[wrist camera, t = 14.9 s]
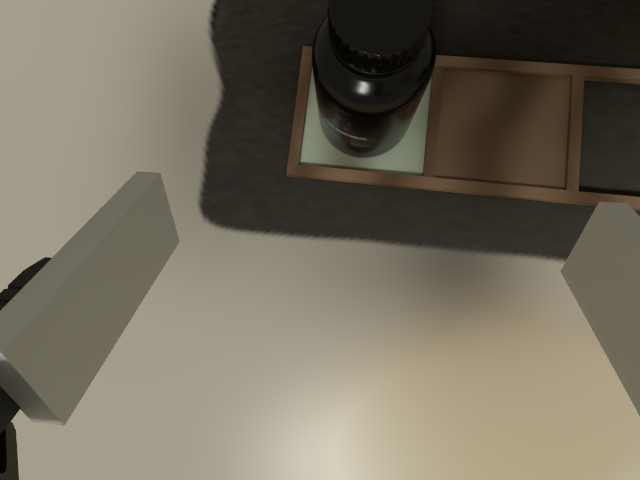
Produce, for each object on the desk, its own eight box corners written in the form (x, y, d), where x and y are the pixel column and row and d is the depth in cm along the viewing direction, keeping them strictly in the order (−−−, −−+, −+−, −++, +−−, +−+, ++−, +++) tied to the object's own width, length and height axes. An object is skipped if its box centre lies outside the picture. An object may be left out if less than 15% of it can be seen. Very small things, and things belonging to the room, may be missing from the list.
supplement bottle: (325, 166, 29) (310, 86, 17) (314, 81, 30) (294, -53, 18) (417, 154, 29) (467, 64, 17) (404, 68, 29) (444, -77, 17)
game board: (724, 80, 28) (732, 75, 27) (722, 218, 27) (731, 217, 26) (303, 50, 30) (303, 45, 30) (287, 176, 29) (286, 174, 29)
